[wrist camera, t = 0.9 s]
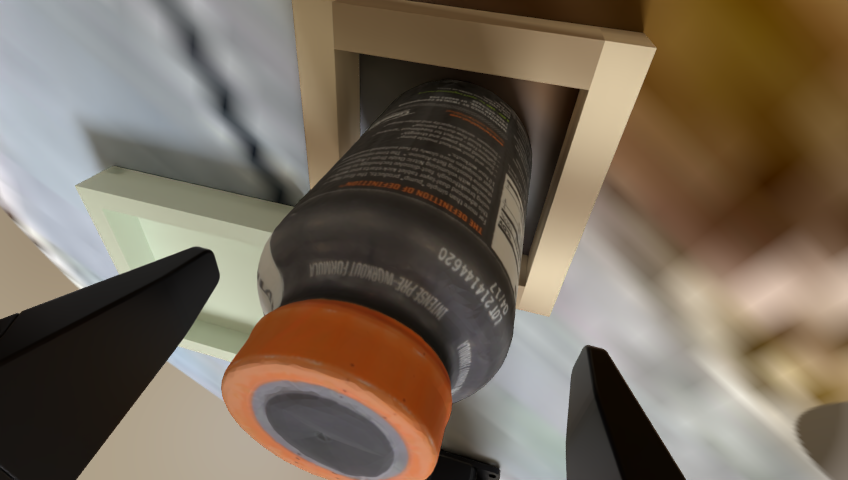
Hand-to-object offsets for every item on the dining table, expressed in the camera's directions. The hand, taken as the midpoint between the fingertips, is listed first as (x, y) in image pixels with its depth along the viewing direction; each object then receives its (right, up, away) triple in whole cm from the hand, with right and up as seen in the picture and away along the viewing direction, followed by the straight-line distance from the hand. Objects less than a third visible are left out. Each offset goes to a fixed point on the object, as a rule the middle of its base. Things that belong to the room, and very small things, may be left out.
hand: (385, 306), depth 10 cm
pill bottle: (+2, +5, +6) cm, 8 cm away
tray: (-10, 0, +14) cm, 17 cm away
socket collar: (+2, +5, +6) cm, 8 cm away
